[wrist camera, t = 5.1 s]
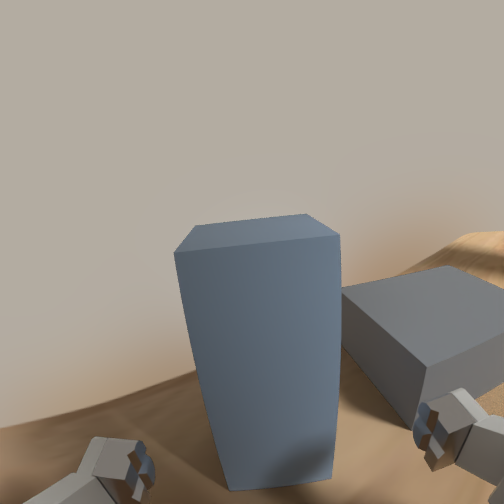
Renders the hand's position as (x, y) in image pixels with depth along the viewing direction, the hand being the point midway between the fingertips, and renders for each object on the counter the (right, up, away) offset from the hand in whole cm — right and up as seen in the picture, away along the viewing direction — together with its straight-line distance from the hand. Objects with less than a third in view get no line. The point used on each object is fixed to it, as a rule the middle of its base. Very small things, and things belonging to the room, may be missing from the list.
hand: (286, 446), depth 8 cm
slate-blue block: (0, -5, +7) cm, 9 cm away
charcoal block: (+13, -3, +13) cm, 19 cm away
